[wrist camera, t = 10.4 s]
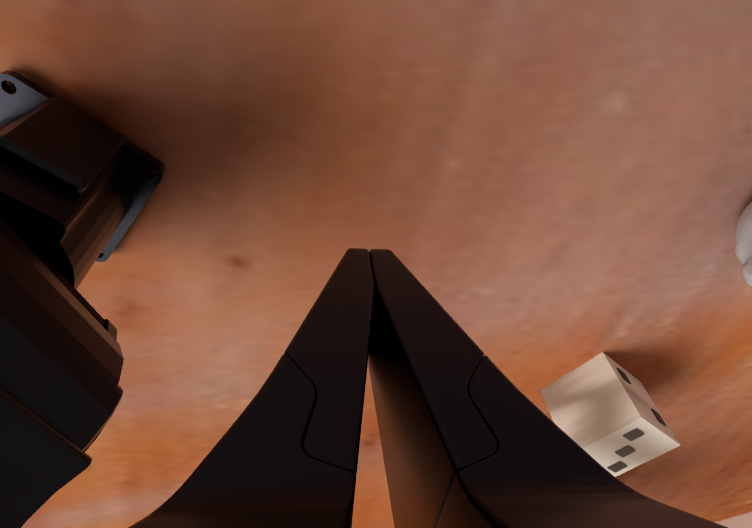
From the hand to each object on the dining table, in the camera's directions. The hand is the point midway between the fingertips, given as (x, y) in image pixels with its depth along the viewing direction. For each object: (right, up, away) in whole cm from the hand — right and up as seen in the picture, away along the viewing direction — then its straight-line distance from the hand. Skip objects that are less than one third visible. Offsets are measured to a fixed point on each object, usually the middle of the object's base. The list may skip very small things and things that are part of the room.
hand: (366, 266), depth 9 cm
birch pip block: (+15, -8, +23) cm, 29 cm away
